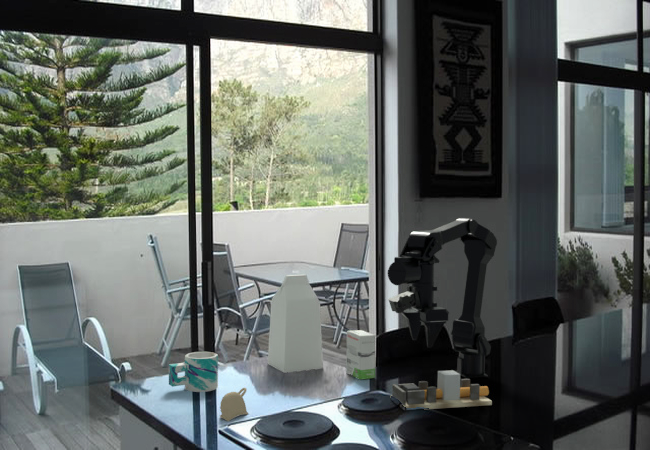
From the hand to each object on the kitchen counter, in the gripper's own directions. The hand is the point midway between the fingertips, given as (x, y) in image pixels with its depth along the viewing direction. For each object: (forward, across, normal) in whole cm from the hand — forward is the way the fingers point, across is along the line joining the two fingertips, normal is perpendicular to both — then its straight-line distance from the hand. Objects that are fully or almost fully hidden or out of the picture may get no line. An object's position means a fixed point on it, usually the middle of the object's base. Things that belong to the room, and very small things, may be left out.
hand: (421, 343), depth 185 cm
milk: (+12, -32, -25) cm, 42 cm away
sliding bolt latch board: (+12, +12, 0) cm, 17 cm away
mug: (+12, -15, -55) cm, 58 cm away
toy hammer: (+11, +12, +2) cm, 16 cm away
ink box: (+12, -17, -10) cm, 23 cm away
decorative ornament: (+12, +10, -49) cm, 52 cm away
